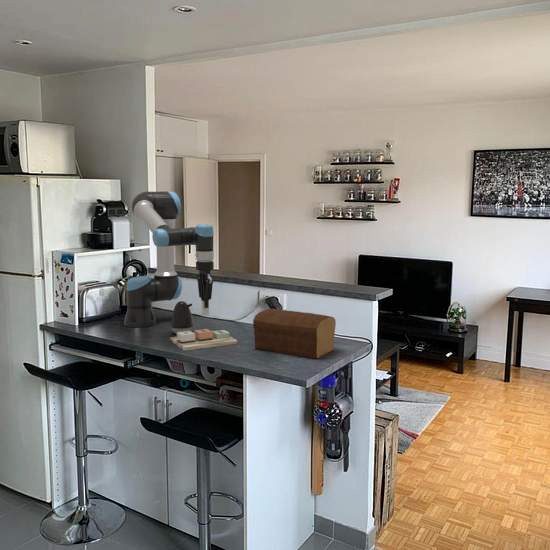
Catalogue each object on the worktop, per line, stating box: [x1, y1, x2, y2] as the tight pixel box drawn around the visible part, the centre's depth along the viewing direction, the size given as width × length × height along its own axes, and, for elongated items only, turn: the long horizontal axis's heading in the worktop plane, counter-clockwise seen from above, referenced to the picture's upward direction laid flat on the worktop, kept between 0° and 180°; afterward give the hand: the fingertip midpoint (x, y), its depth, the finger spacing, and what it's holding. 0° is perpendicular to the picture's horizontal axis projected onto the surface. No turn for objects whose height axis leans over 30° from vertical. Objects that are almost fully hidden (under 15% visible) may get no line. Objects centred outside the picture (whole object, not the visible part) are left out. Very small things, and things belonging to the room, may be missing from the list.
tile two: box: [194, 328, 213, 339], centre depth 250 cm, size 6×6×3 cm
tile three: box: [211, 329, 231, 339], centre depth 254 cm, size 6×6×3 cm
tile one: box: [176, 330, 195, 342], centre depth 247 cm, size 6×6×3 cm
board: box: [169, 336, 238, 351], centre depth 251 cm, size 18×24×2 cm
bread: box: [252, 308, 337, 359], centre depth 239 cm, size 18×30×16 cm, turn 58°
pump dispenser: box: [170, 300, 194, 335], centre depth 265 cm, size 10×10×15 cm
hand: (205, 314), depth 250 cm, fingers closed
